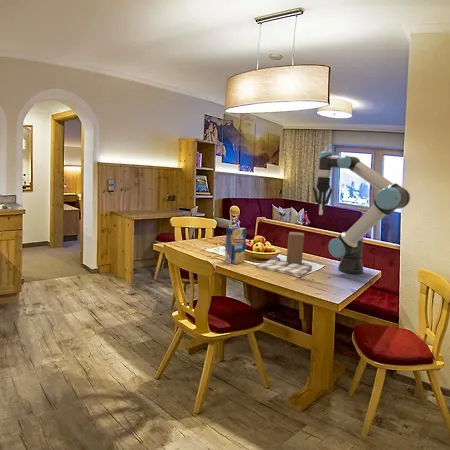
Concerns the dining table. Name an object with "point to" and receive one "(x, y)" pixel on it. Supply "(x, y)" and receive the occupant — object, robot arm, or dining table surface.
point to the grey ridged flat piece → (278, 262)
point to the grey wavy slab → (300, 266)
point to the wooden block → (295, 247)
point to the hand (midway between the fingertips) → (320, 214)
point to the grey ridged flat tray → (281, 269)
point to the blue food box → (235, 245)
